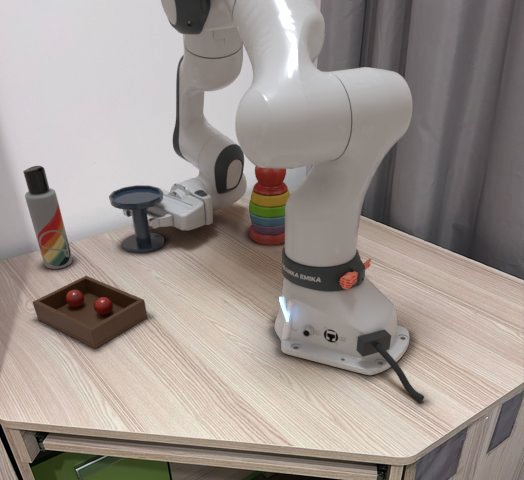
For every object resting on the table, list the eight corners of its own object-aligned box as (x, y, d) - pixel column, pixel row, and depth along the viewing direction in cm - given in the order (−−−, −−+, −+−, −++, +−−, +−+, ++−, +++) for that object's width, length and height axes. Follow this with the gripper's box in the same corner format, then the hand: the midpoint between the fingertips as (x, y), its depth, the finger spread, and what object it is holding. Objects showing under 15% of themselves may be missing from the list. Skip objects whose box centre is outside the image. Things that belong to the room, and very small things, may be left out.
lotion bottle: (64, 270, 110) (38, 172, 98) (39, 268, 111) (10, 171, 99) (77, 258, 114) (54, 163, 103) (53, 256, 115) (27, 161, 104)
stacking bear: (298, 228, 125) (300, 150, 114) (289, 247, 117) (290, 164, 106) (253, 225, 127) (251, 147, 116) (242, 243, 119) (238, 161, 109)
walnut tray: (147, 317, 95) (144, 299, 93) (95, 348, 88) (91, 330, 85) (90, 292, 103) (86, 275, 101) (37, 319, 95) (32, 301, 93)
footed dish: (179, 240, 121) (173, 191, 114) (143, 259, 114) (135, 207, 107) (144, 229, 126) (136, 182, 119) (108, 247, 119) (98, 197, 112)
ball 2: (116, 315, 94) (105, 317, 96) (117, 298, 94) (106, 299, 97) (100, 313, 92) (89, 314, 94) (101, 294, 92) (90, 296, 94)
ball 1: (85, 301, 95) (87, 307, 98) (80, 285, 96) (83, 291, 99) (66, 306, 94) (70, 311, 97) (61, 289, 95) (65, 295, 98)
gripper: (158, 177, 128) (108, 192, 120) (215, 197, 116) (164, 216, 108) (161, 203, 131) (113, 219, 123) (217, 225, 120) (167, 245, 112)
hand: (137, 218), depth 116 cm, fingers open, 8 cm apart
